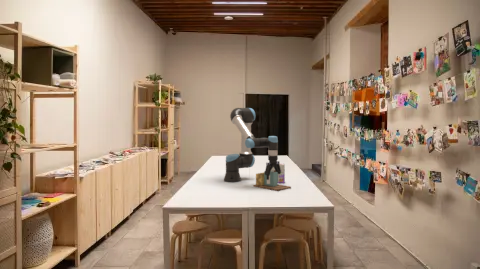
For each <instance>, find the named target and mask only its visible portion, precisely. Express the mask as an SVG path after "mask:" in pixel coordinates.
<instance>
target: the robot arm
mask: <svg viewBox="0 0 480 269" xmlns="http://www.w3.org/2000/svg"><path fill="white" fill-rule="evenodd" d="M229 118H230V121H231V123H232V124H234V125H235V126H236V128H237V129H238V131H239V133H240V135H241V139H240V140H241V142H240V152H239V153H231V154H227V155H226V157H225V174H224V177H223V181H224V182H227V183H238V182H242V177H241V174H240V169H246V168H247V169H248V168H252V167H253V166H254V165H255V160H256V159H255V155H254V154H253V152H252V150H251V149H253V148H254V149H255V148H268V150H267V152H268V156H267V159H268V162H266V163H265V164H266V166H265V170H264V171H265V175H266V176H267V184H270V176H269V175H270V172H271V169H272V168H273V167H274V168H275V171H276V172H278V182H279V174H280V173H281V169H280V164H281V163H280V160H278V159H279V158H278V157H279V156H278V150H279V145H278V144H279V140H278V136H276V135H269V136H268V137H260V138H259V137H257V138H256V137H255V136H254V134H253V133H252V124H253V122H254V121H255V120H256V118H257V117H256V112H255V110H254V109H253V108H251V107H235V108H233V109H232V110H231V112H230V115H229ZM270 166H271V167H270Z"/></svg>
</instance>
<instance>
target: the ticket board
mask: <svg viewBox="0 0 480 269" xmlns="http://www.w3.org/2000/svg"><path fill="white" fill-rule="evenodd" d="M253 187H255V188H260V189H265V190H271V191H276V192H280V191H285V190H289V189H292V186H289V185H284V184H280V183H278V186H274V187H273V186H268V185H264V171H263V172H258V173H255V184H253Z"/></svg>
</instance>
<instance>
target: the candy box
mask: <svg viewBox="0 0 480 269" xmlns="http://www.w3.org/2000/svg"><path fill="white" fill-rule="evenodd" d="M279 164H280V169H281V173H280V174H279V182H278V184H285V182H286V181H285V178H286V177H285V175H286V174H285V172H286V171H285V163H279ZM270 167H271V166H270ZM271 171H274V172H276V171H275V168H274V167H273V168H272V169H271Z"/></svg>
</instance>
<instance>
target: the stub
mask: <svg viewBox="0 0 480 269" xmlns="http://www.w3.org/2000/svg"><path fill="white" fill-rule="evenodd" d="M263 172H264V185H268V186H273V187H274V186H278V184H279V183H278V172H274V171H271V172H270V175H269V176H270V184H267V176H266V175H265V170H264V171H263Z"/></svg>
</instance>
